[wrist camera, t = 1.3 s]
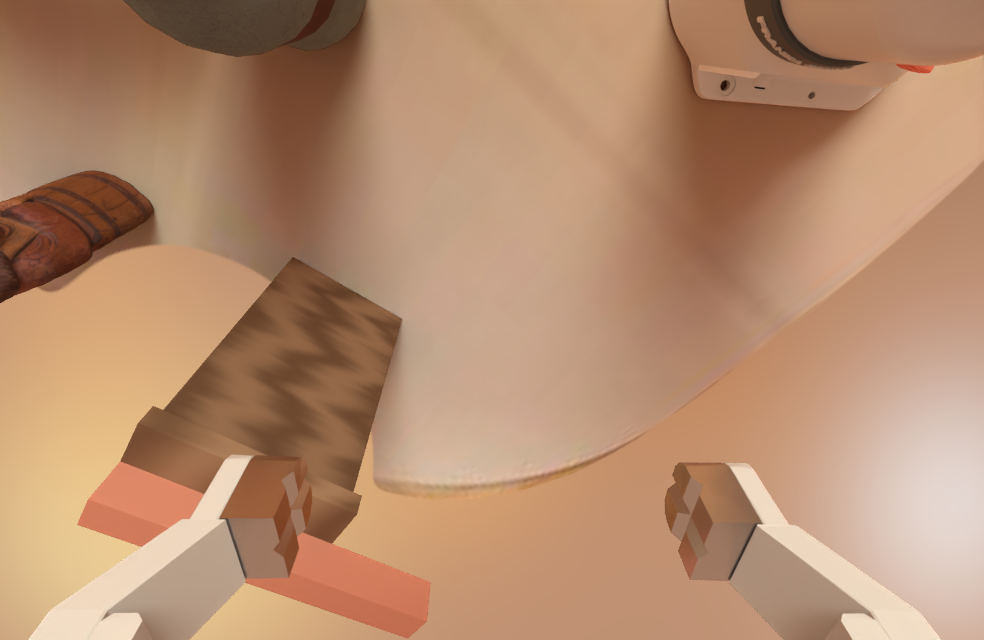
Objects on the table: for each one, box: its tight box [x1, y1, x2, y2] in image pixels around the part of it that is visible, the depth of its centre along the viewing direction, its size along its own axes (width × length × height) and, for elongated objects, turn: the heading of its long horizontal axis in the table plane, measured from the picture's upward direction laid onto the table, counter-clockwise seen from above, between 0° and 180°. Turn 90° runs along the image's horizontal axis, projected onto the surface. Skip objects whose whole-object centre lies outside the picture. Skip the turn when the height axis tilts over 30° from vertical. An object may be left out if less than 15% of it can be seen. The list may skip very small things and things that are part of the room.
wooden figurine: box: [0, 171, 153, 303], centre depth 40 cm, size 12×6×18 cm, turn 106°
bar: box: [77, 461, 430, 638], centre depth 32 cm, size 22×3×3 cm, turn 55°
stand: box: [121, 257, 402, 544], centre depth 44 cm, size 14×10×26 cm
